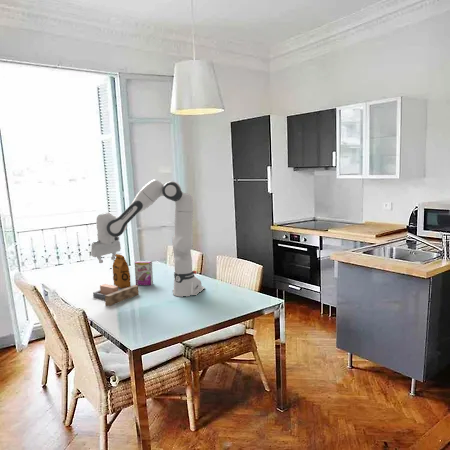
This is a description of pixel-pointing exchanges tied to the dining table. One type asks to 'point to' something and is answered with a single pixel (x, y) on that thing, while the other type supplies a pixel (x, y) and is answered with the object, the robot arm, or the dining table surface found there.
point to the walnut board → (121, 295)
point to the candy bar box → (143, 273)
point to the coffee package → (121, 272)
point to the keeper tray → (99, 295)
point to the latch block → (108, 289)
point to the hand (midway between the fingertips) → (107, 261)
